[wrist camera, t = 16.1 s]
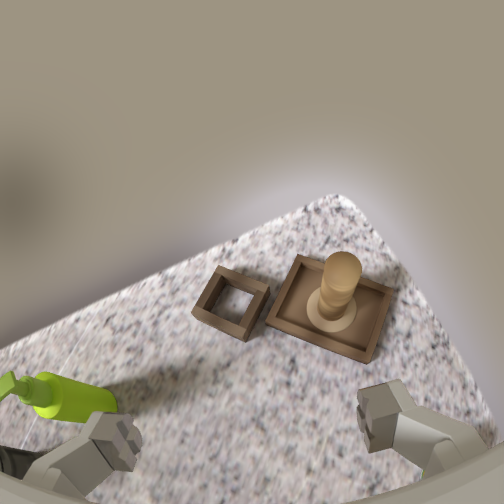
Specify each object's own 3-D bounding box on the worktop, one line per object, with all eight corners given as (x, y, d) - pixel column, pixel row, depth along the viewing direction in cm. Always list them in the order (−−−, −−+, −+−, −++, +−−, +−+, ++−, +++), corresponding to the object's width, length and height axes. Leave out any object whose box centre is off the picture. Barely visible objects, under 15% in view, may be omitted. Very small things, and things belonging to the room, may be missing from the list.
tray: (390, 294, 43) (393, 289, 41) (366, 364, 39) (369, 361, 37) (297, 260, 48) (297, 253, 46) (266, 324, 43) (265, 320, 42)
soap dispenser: (77, 402, 40) (-19, 376, 23) (106, 381, 41) (12, 346, 24) (93, 433, 37) (-6, 423, 20) (124, 413, 39) (27, 396, 21)
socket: (270, 293, 46) (268, 285, 43) (245, 342, 42) (242, 337, 40) (222, 273, 48) (218, 264, 46) (196, 319, 45) (190, 312, 42)
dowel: (349, 299, 42) (366, 258, 32) (339, 325, 41) (355, 291, 31) (323, 290, 44) (331, 246, 33) (312, 314, 42) (318, 277, 32)
